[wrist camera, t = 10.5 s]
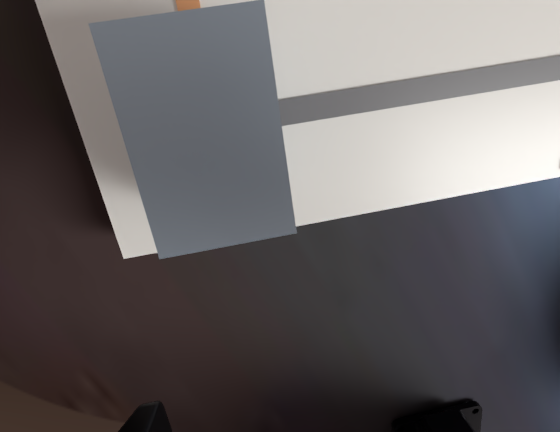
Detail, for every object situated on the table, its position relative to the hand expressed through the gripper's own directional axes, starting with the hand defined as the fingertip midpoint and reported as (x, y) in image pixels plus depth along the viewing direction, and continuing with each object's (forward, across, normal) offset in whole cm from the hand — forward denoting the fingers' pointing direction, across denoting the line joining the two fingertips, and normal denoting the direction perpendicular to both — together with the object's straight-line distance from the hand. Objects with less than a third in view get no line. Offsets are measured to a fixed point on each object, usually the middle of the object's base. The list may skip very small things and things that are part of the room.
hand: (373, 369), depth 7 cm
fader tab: (+9, +3, -5) cm, 10 cm away
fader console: (+11, -5, -5) cm, 13 cm away
